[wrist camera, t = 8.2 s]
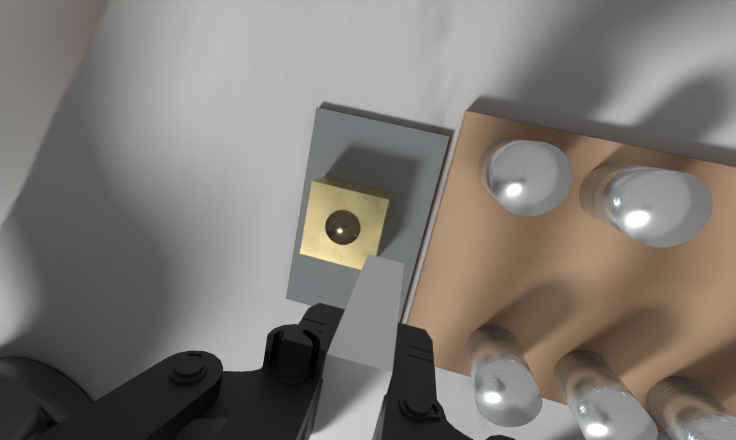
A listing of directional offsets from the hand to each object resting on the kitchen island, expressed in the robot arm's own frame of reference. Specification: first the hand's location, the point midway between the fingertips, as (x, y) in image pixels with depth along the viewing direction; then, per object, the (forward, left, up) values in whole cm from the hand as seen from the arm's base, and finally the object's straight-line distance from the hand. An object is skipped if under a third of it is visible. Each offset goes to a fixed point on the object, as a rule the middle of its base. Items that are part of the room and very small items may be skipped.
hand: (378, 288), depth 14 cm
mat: (-2, 0, -8) cm, 9 cm away
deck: (+13, 0, -8) cm, 16 cm away
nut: (-3, 0, -8) cm, 8 cm away
